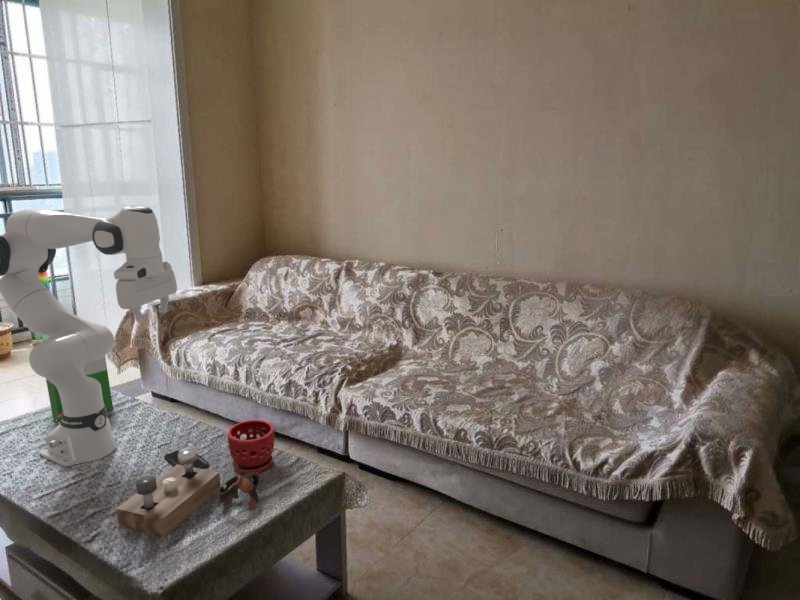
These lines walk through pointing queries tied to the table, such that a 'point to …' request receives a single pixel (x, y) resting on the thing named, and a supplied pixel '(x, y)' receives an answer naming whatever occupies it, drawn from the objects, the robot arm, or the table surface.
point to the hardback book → (91, 370)
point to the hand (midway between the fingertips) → (152, 316)
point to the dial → (169, 485)
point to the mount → (169, 502)
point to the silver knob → (187, 460)
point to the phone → (173, 460)
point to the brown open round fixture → (242, 484)
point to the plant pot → (251, 446)
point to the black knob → (146, 489)
